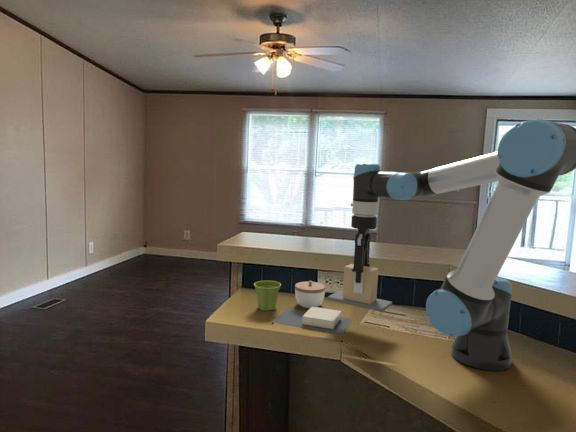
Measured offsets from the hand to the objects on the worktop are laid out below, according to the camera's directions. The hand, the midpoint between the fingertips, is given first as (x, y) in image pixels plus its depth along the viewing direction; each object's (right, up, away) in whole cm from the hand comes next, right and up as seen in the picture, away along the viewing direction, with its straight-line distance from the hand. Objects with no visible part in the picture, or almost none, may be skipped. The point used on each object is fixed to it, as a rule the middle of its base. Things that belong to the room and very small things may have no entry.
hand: (360, 289), depth 138 cm
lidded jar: (-15, -10, +21) cm, 28 cm away
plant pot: (-30, -10, +18) cm, 36 cm away
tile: (-7, -10, +4) cm, 12 cm away
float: (0, -4, +1) cm, 4 cm away
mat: (-14, -12, +7) cm, 19 cm away
